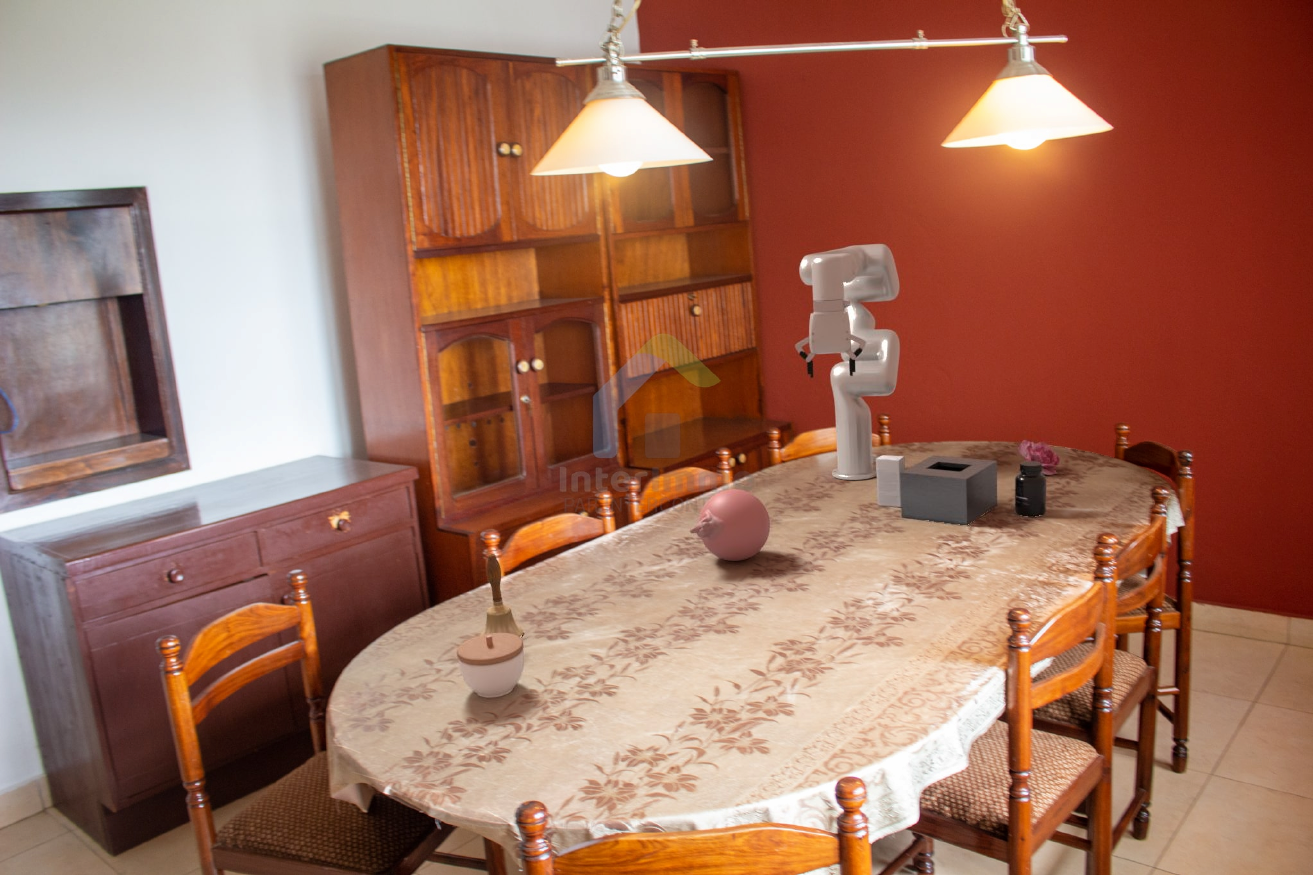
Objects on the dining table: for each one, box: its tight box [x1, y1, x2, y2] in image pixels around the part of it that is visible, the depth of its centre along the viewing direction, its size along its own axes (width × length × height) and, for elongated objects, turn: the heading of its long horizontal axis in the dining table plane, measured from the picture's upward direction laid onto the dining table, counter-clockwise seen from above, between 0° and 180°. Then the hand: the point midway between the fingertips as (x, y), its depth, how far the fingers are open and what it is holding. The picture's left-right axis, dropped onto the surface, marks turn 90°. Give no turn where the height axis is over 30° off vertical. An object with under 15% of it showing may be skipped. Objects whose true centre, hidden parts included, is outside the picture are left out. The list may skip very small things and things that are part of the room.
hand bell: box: [479, 553, 525, 637], centre depth 189 cm, size 8×8×16 cm
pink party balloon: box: [689, 488, 771, 562], centre depth 220 cm, size 15×20×15 cm
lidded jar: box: [456, 633, 525, 699], centre depth 168 cm, size 11×11×9 cm
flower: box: [1017, 439, 1061, 476], centre depth 271 cm, size 11×10×10 cm
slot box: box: [900, 454, 998, 526], centre depth 243 cm, size 18×16×11 cm
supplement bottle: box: [1014, 460, 1047, 518], centre depth 237 cm, size 7×7×12 cm
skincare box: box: [875, 454, 906, 508], centre depth 252 cm, size 6×4×12 cm
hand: (831, 376), depth 255 cm, fingers open, 9 cm apart
